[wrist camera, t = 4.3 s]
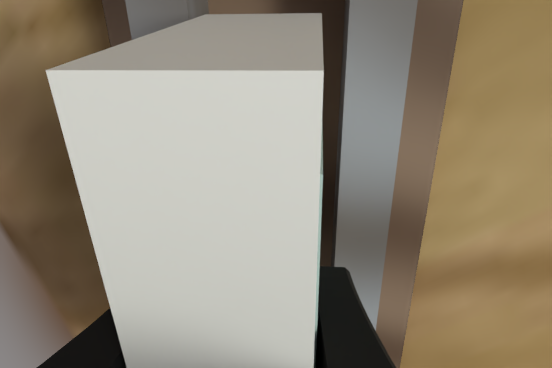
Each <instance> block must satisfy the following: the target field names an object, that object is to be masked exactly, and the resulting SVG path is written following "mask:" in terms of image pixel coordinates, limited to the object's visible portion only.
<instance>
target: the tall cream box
mask: <svg viewBox="0 0 552 368" xmlns="http://www.w3.org/2000/svg"><path fill="white" fill-rule="evenodd" d="M46 73H47V77H48V81H49V84H50V88H51V92H52V95H53V99H54V103H55V106H56V110H57V114H58V117H59V121H60V125H61V128H62V132H63V136H64V140H65V143H66V147H67V151H68V154H69V158H70V162H71V165H72V169H73V173H74V176H75V180H76V184H77V187H78V191H79V195H80V198H81V202H82V206H83V209H84V213H85V217H86V220H87V224H88V228H89V231H90V235H91V239H92V242H93V246H94V250H95V253H96V257H97V261H98V264H99V268H100V272H101V275H102V279H103V283H104V286H105V290H106V294H107V297H108V301H109V305H110V308H111V312H112V316H113V319H114V323H115V327H116V330H117V334H118V338H119V341H120V345H121V349H122V352H123V356H124V360H125V363H126V367H127V368H316V348H317V321H318V295H319V268H320V242H321V215H322V189H323V132H322V107H323V78H324V63H323V33H322V13H282V14H205V15H202V16H199V17H197V18H194V19H191V20H188V21H185V22H182V23H179V24H176V25H174V26H171V27H168V28H165V29H162V30H159V31H156V32H154V33H151V34H148V35H145V36H142V37H139V38H136V39H134V40H131V41H128V42H125V43H122V44H119V45H116V46H114V47H111V48H108V49H105V50H102V51H99V52H96V53H94V54H91V55H88V56H85V57H82V58H79V59H76V60H74V61H71V62H68V63H65V64H62V65H59V66H56V67H54V68H51V69H48V70H46Z"/></svg>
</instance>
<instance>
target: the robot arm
mask: <svg viewBox="0 0 552 368" xmlns="http://www.w3.org/2000/svg"><path fill="white" fill-rule="evenodd" d="M37 368H127V367H126V363H125V360H124V356H123V352H122V349H121V345H120V341H119V338H118V334H117V330H116V327H115V323H114V319H113V316H112V312H111V308H110V309H108V310H107V311H106V312H105V313H104V314H103V315H102V316H100V317H99V318H98V319H97V320H96V321H95V322H93V323H92V324H91V325H90V326H89V327H87V328H86V329H85V330H84V331H82V332H81V333H80V334H79V335H77V336H76V337H75V338H74V339H72V340H71V341H70V342H69V343H67V344H66V345H65V346H64V347H62V348H61V349H60V350H59V351H57V352H56V353H55V354H54V355H52V356H51V357H50V358H49V359H47V360H46V361H45V362H44V363H43V364H41V365H40V366H38V367H37ZM316 368H396V366H395V365H394V363H393V361H392V360H391V358H390V356H389V355H388V353H387V351H386V349H385V347H384V345H383V344H382V342H381V340H380V338H379V336H378V334H377V333H376V331H375V329H374V327H373V325H372V323H371V321H370V319H369V317H368V315H367V313H366V311H365V309H364V307H363V305H362V302H361V300H360V298H359V296H358V293H357V291H356V288H355V286H354V283H353V280H352V278H351V274H350V272H349V271H348V270H347V269H346V268H345V267H330V266H320V268H319V295H318V321H317V348H316Z"/></svg>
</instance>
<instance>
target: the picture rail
mask: <svg viewBox="0 0 552 368" xmlns="http://www.w3.org/2000/svg"><path fill="white" fill-rule="evenodd" d="M102 4H103V9H104V14H105V19H106V24H107V30H108V35H109V40H110V45H111V47H114V46H116V45H119V44H122V43H125V42H128V41H131V40H134V39H136V38H139V37H142V36H145V35H148V34H151V33H154V32H156V31H159V30H162V29H165V28H168V27H171V26H174V25H176V24H179V23H182V22H185V21H188V20H191V19H194V18H197V17H199V16H202V15H205V14H282V13H322V33H323V63H324V78H323V107H322V132H323V189H322V215H321V242H320V266H330V267H345V268H346V269H347V270H348V271H349V272H350V274H351V278H352V280H353V283H354V286H355V288H356V291H357V293H358V296H359V298H360V300H361V302H362V305H363V307H364V309H365V311H366V313H367V315H368V317H369V319H370V321H371V323H372V325H373V327H374V329H375V331H376V333H377V334H378V336H379V338H380V340H381V342H382V344H383V345H384V347H385V349H386V351H387V353H388V355H389V356H390V358H391V360H392V361H393V363H394V365H395V366H396V368H400V362H401V357H402V351H403V345H404V339H405V334H406V328H407V322H408V316H409V311H410V305H411V299H412V293H413V288H414V282H415V276H416V270H417V265H418V259H419V253H420V247H421V241H422V236H423V230H424V224H425V218H426V213H427V207H428V201H429V195H430V190H431V184H432V178H433V172H434V167H435V161H436V155H437V149H438V144H439V138H440V132H441V126H442V121H443V115H444V109H445V103H446V98H447V92H448V86H449V80H450V75H451V69H452V63H453V57H454V51H455V46H456V40H457V34H458V28H459V23H460V17H461V11H462V5H463V0H102Z"/></svg>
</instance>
